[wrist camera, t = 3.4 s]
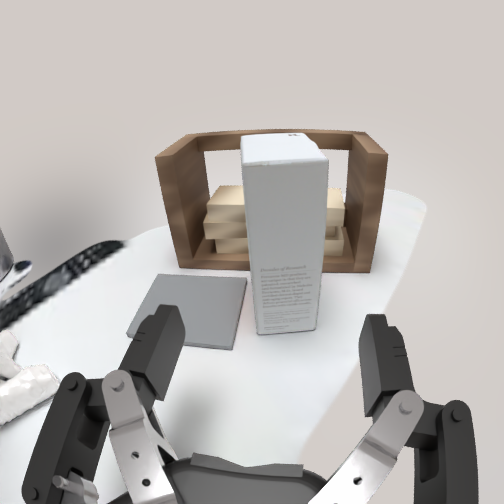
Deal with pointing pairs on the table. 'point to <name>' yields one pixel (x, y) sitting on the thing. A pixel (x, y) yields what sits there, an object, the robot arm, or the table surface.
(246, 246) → the offcut stack
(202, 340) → the grey mat
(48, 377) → the sitting furry creature
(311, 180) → the skincare box
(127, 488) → the robot arm
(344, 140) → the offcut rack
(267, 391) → the table surface
